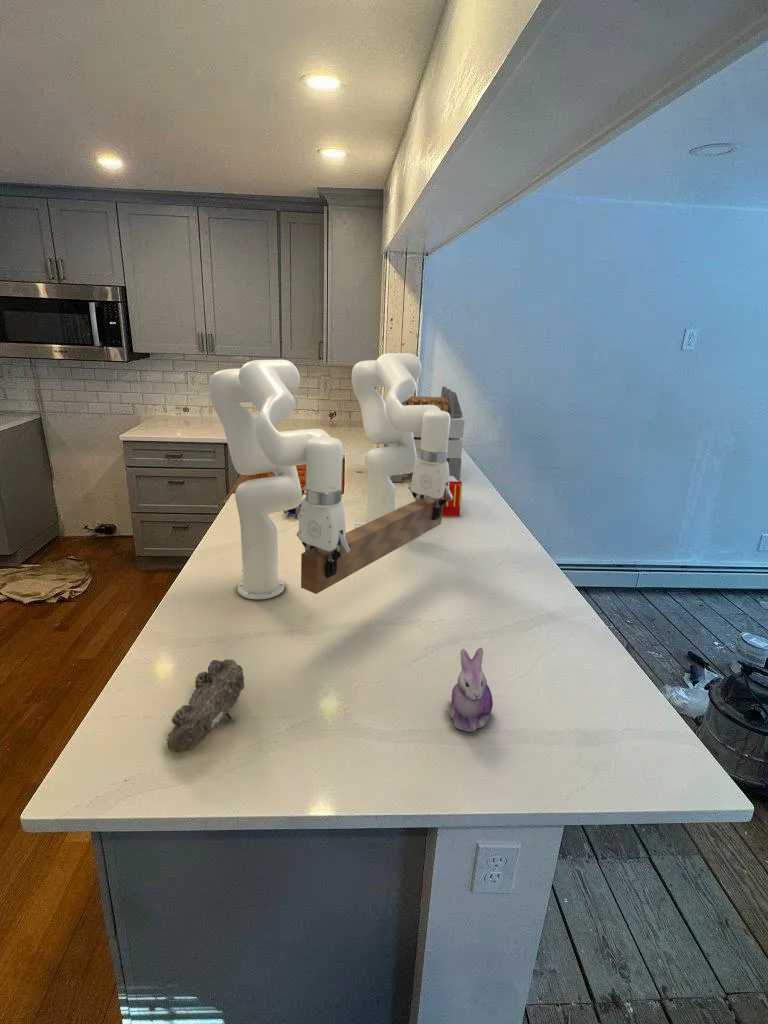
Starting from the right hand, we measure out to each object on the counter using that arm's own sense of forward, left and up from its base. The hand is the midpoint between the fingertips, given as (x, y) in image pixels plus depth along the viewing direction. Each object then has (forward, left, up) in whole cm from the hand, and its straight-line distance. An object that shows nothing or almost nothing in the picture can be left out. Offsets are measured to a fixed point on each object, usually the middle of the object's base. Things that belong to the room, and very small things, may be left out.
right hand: (428, 516), depth 163 cm
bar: (-7, -22, -3) cm, 24 cm away
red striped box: (-7, +67, -19) cm, 70 cm away
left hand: (-15, -44, 0) cm, 47 cm away
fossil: (-24, -75, -19) cm, 81 cm away
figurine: (+23, -58, -19) cm, 65 cm away
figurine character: (-58, +34, -19) cm, 70 cm away
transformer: (-27, +109, -19) cm, 113 cm away
